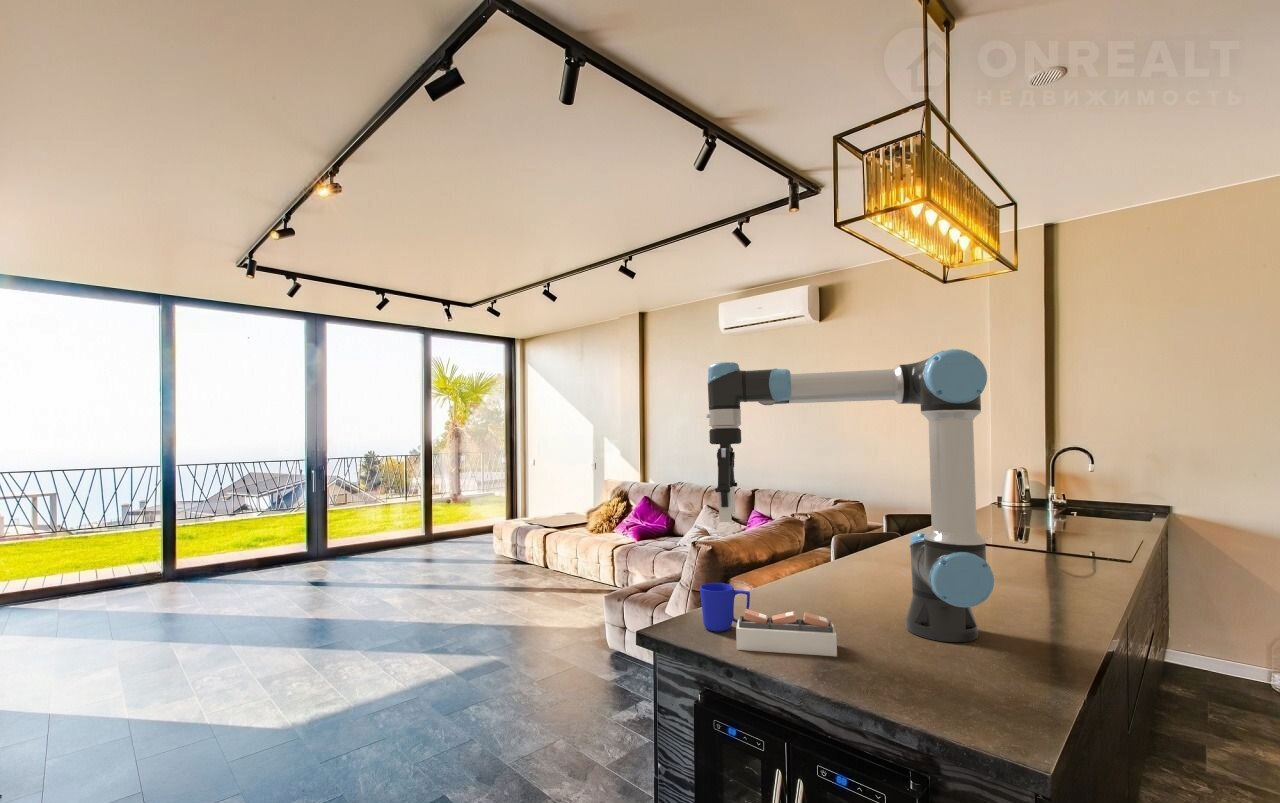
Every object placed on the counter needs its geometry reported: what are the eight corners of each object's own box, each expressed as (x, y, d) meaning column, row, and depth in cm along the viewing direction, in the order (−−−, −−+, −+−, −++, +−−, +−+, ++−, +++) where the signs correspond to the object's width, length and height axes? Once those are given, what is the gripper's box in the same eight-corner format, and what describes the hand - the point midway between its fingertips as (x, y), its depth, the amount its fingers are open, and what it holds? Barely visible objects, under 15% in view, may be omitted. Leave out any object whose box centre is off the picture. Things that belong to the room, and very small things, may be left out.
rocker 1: (765, 621, 130) (767, 615, 130) (765, 625, 127) (767, 619, 127) (744, 614, 131) (745, 608, 131) (743, 618, 128) (745, 612, 128)
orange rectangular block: (826, 624, 127) (827, 618, 127) (827, 629, 124) (828, 622, 124) (803, 617, 128) (804, 611, 128) (803, 622, 125) (805, 615, 125)
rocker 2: (795, 617, 128) (793, 610, 129) (796, 621, 125) (794, 614, 126) (773, 621, 129) (772, 615, 130) (774, 626, 126) (772, 619, 127)
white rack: (833, 644, 128) (832, 619, 128) (837, 656, 121) (836, 629, 122) (738, 638, 133) (738, 614, 133) (736, 649, 126) (736, 624, 126)
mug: (750, 635, 135) (749, 592, 135) (699, 633, 137) (698, 590, 138) (751, 624, 143) (749, 583, 143) (702, 622, 145) (701, 582, 146)
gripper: (714, 428, 150) (716, 510, 149) (703, 427, 126) (706, 525, 124) (743, 428, 148) (746, 510, 147) (737, 426, 124) (741, 525, 123)
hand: (727, 517), depth 136 cm, fingers open, 13 cm apart
